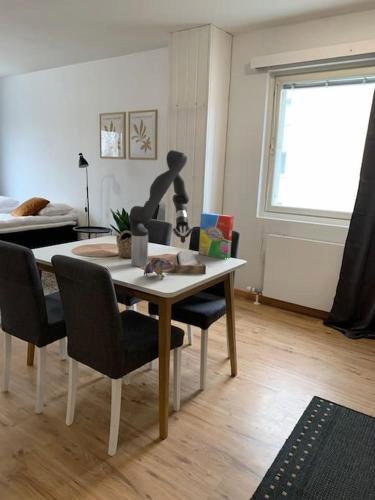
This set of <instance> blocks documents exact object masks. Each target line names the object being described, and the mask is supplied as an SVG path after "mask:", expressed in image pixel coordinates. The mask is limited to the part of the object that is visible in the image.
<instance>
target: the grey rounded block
mask: <svg viewBox="0 0 375 500" xmlns="http://www.w3.org/2000/svg"><path fill="white" fill-rule="evenodd" d="M174 260H175V261H174V262H175V263H176V265H195V264H196V265H199V264H198V260H197V259H196V258H195V256H194V252H193V250H191V249H184V250H180V251H179V252H177V253H176V254H175V255H174Z"/></svg>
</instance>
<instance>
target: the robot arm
mask: <svg viewBox="0 0 375 500" xmlns="http://www.w3.org/2000/svg"><path fill="white" fill-rule="evenodd" d="M187 160H188V156H187V154H186V153H185V152H182V151H181V152H180V151H177V150H173V149H172V150H169V151H168V152H167V155H166V164H167V167H168V170H167V171H164V172H163V173H160V174H159V175H158V176H156V177H155V179H154V181H152V183H151V185H150V188H149V198H148V200H147V202H146V203H145V204H144V205H143V206H141V205H140V206H139V205H135V206H133V207H132V208H131V209H130V212H129V226H130V228H129V229H130V232H131V254H130V255H131V257H130V258H131V259H130V260H131V261H130V266H132V267H133V266H134V267H146V266H147V265H148V264H149V261H148V260H149V257H148V256H149V251H148V250H149V230H148V229H147V228H146V227H145V226H144V224H148V223H149V222H150V221H151V220H152V218H153V216H154V214H155V213H156V212H155V211H156V210H157V207H158V206H159V204H160V203H161V202H162V199H163V198H164V196H165V195H166V193H167V191H168V190H169V188H170V187H171V184H173V191H174V193H175V194H174V195H173V196H172V203H173V205H174V208H175V228H172V233H173V234H174V235H175V236H176V237H177V238H180V243H182V244H184V243H186V238H189V236H190V235H191V234H192V232H193V228H190V226H189V219H188V208H187V204H188V203H189V200H190V199H189V195H188V193H187V190H186V187H185V181H184V178H183V176H182V175H181V173H180V172H182V170H183V169H184V167H185V166H186V163H187Z"/></svg>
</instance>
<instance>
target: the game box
mask: <svg viewBox="0 0 375 500" xmlns="http://www.w3.org/2000/svg"><path fill="white" fill-rule="evenodd" d="M199 225H200V228H199V245H198V255H203V256H208V257H212V258H213V257H214V258H218V257H219V258H220V259H224V258H226V259H225V260H228V259H230V258H231V253H232V252H231V251H232V241H233V239H232V238H233V230H234V229H233V225H234V215H227V214H218V213H211V212H210V213H209V212H201V213H200V224H199ZM227 258H228V259H227Z"/></svg>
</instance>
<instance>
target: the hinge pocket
mask: <svg viewBox="0 0 375 500" xmlns="http://www.w3.org/2000/svg"><path fill="white" fill-rule="evenodd" d="M172 263H173V264H172V271H173V274H179V275H181V274H182V275H183V274H185V275H186V274H189V275H193V274H194V275H200V274H201V275H202V274H203V275H204V274H207V265H206V263H205V262H203V261H202V263H201V265H200V264H196V265H176V262H175V261H173V262H172Z"/></svg>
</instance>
